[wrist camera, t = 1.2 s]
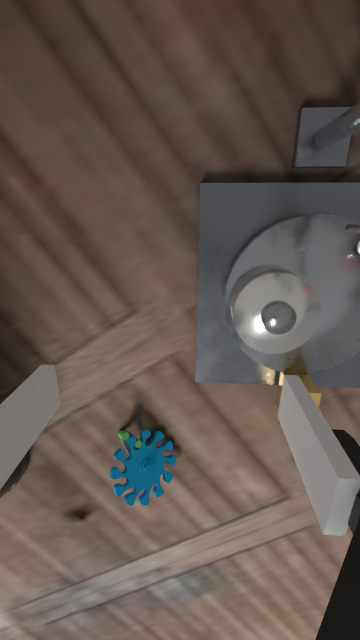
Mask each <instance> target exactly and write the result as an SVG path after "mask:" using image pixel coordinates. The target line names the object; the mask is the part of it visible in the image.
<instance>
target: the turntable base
mask: <svg viewBox="0 0 360 640" xmlns="http://www.w3.org/2000/svg"><path fill="white" fill-rule="evenodd" d="M307 214H327V215H336V216H341V217H345V218H348V219H350V220H353V221H356V222H358V223H359V224H360V183H200V217H199V257H198V297H197V337H196V377H195V382H213V383H240V384H267V385H279V378H280V371H276V370H273V369H270V368H267V367H265V366H263V365H261V364H259V363H257V362H256V361H254V360H253V359H251V358H250V357H249V356H248V355H247V354H245V353H244V352H243V351H242V349H241V348H240V347H239V346H238V345H237V343H236V342H235V340H234V339H233V337H232V335H231V333H230V330H229V328H228V325H227V321H226V318H225V313H224V306H223V293H224V286H225V282H226V278H227V275H228V272H229V270H230V267H231V265H232V264H233V262H234V260H235V258H236V257H237V255H238V254H239V252H240V251H241V250H242V248H243V247H244V246H245V245H246V244H247V243H248V242H249V241H250V240H251V239H252V238H253V237H255V236H256V235H257V234H258V233H259V232H261V231H262V230H264V229H266V228H267V227H269V226H270V225H273V224H275V223H277V222H279V221H281V220H284V219H287V218H290V217H294V216H299V215H307ZM308 374H309V376H310V377H311V379H312V380H313V381H314V383H315V384H316V386H321V387H348V388H360V352H359V353H358V354H356V355H355V356H353V357H352V358H350V359H349V360H347V361H345V362H343V363H341V364H339V365H337V366H334V367H332V368H329V369H326V370H322V371H318V372H312V373H308Z"/></svg>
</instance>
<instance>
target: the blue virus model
mask: <svg viewBox="0 0 360 640" xmlns="http://www.w3.org/2000/svg"><path fill="white" fill-rule="evenodd" d="M117 435H118V436H119V438H120V439H121V441H122V443H123V445H124V447H125V449H126V451H127V453H128V458H126V459H125V452H124V451H123V450H122V449H120V448H119V449H118V450H117V451H116V452H115V453H114V457H115V458H116V459H117V460H120V461H122V462H123V463H124V465H125V470H124V471H123V472H120V470H119V469H118V468H117V467H112V468H111V471H110V475H109V476H110V477H111V478H112V479H117V478H120V477H124V478H127V482H126V483H125V484H124V485H121V484H119V483H117V484H115V485H114V493H115V494H116V496H121V495H122V494H123V492H124V491H126V490H127V489H129V488H132V487H134V490H133V492H132V493H128V494H126V495H125V496H124V500H125V502H126V503H127V504H129V505H130V506H132V505H133V504H134V502H135V499H136V497H137V495H138V493H139V492H140V491H141V490H143V489H145V490H144V493H143V494H142V495H141V496H140V497H139V503H140V504H142V505H148V504H149V501H150V499H149V493H150V490H151V487H152V485H153V484H155V487H154V489H153V494H154V495H155V496H156V497H159V496H161V495H162V494H163V493H164V491H163V489H162V487H161V486H160V475H161V474H163V479H164V481H166V482H167V483H169V482H170V481H171V480H172V478H173V474H172V473H170V472H168V471H166V470H165V469H164V466H163V464H164V462H165V461H167V463H168V464H170V465H171V466H174V465H175V462H176V457H175V456H173V455H169V456H162V451H163V450H164V449H167V450H169V451H170V450H172V449H173V445H172V442H171V441H170V440H166V441H165V442H164V443H163V444H162V445H160V446H158V447H155V443H156V442H157V441H161V440H163V438H164V435H163V434H162V433H161V432H160V431H158V430H157V431H155V433H154V436H153V438H152V440H151V441H150V442H149V443H148V444H146V445H145V441H146V439H148V438H149V437H150V435H151V432H150V431H148V430H146V429H141V431H140V436H141V438H140V440H138V439H136V437H135V436H134V435H133V434H132V433H131V432H129V431H123V430H122V431H118V432H117Z"/></svg>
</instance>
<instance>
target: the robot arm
mask: <svg viewBox="0 0 360 640" xmlns="http://www.w3.org/2000/svg"><path fill="white" fill-rule="evenodd" d="M60 406H61V403H60V397H59V390H58V384H57V377H56V371H55V365H41V366H40V367H39V368H38V369H37V370H35V371H34V372H33V373H32V374H31V375H30V376H29V377H28V378H27V379H26V380H25V381H24V382H23V383H22V384H21V385H20V386H19V387H18V388H17V389H16V390H15V391H14V392H13V393H12V394H11V395H10V396H9V397H7V398H6V399H5V400H4V401H3V402H2V403H1V404H0V498H1V497H2V496H3V495H5V494H7V493H8V492H9V491H11V490H12V489H13V488H14V487H15V486H16V484H17V483H18V482H19V480H20V479H21V477H22V476H23V474H24V473H25V471H26V469H27V465H28V455H27V452H28V450H29V449H30V448H31V446H32V445H33V443H34V442H35V441H36V439H37V438H38V436H39V435H40V434H41V432H42V431H43V429H44V428H45V427H46V425H47V424H48V423H49V421H50V420H51V418H52V417H53V416H54V414H55V413H56V411H57V410H58V409H59V407H60ZM278 418H279V421H280V423H281V426H282V429H283V431H284V434H285V436H286V439H287V442H288V444H289V447H290V449H291V452H292V454H293V457H294V460H295V462H296V465H297V467H298V470H299V473H300V475H301V478H302V480H303V483H304V485H305V488H306V491H307V493H308V496H309V498H310V501H311V503H312V506H313V509H314V511H315V514H316V516H317V519H318V522H319V524H320V527H321V529H322V532H323V534H324V535H338V536H345V534H346V531H347V527H348V525H349V527H350V529H351V531H352V533H353V537H352V540H351V543H350V545H349V548H348V551H347V554H346V556H345V559H344V562H343V565H342V568H341V570H340V573H339V576H338V579H337V581H336V584H335V587H334V590H333V592H332V595H331V598H330V601H329V603H328V606H327V609H326V612H325V615H324V617H323V620H322V623H321V626H320V628H319V631H318V634H317V637H316V639H315V640H360V446H359V445H358V444H357V442H356V441H355V439H354V438H353V437H351V436H350V435H349V434H348V433H347V432H345V431H344V430H333V429H331V428H330V426H329V425H328V423H327V421H326V420H325V418H324V417H323V415H322V413H321V412H320V410H319V408H318V407H317V405H316V403H315V402H314V400H313V399H312V397H311V395H310V394H309V392H308V390H307V389H306V387H305V385H304V384H303V382H302V381H301V379H300V377H299V376H296V375H284V380H283V386H282V392H281V399H280V405H279V411H278Z"/></svg>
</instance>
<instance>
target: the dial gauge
mask: <svg viewBox="0 0 360 640" xmlns="http://www.w3.org/2000/svg"><path fill="white" fill-rule="evenodd" d="M358 131H360V102H359V103H357V104H356V105H354V106H353V107H316V108H301V109H300V110H299V114H298V122H297V130H296V138H295V146H294V155H293V163H292V168H342V167H345V166H346V162H347V156H348V151H349V145H350V140H351V135H352V134H354V133H356V132H358ZM345 230H346V231H348V232H356V233H360V224H348V225H346V227H345Z"/></svg>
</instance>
